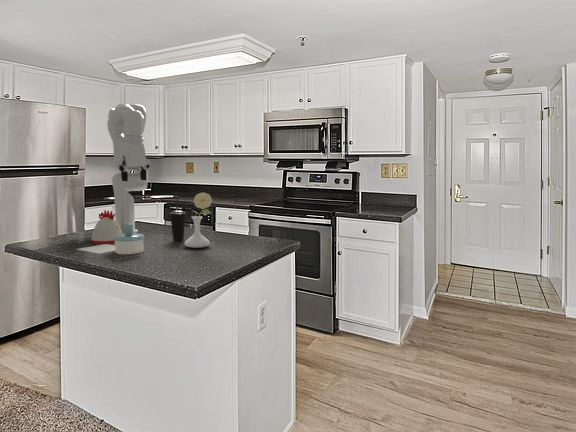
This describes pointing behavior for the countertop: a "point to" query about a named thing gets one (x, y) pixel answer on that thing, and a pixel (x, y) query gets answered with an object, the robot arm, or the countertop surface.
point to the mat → (99, 248)
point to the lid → (129, 234)
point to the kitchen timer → (106, 229)
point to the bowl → (129, 247)
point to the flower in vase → (197, 238)
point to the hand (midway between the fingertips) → (134, 180)
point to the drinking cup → (178, 224)
